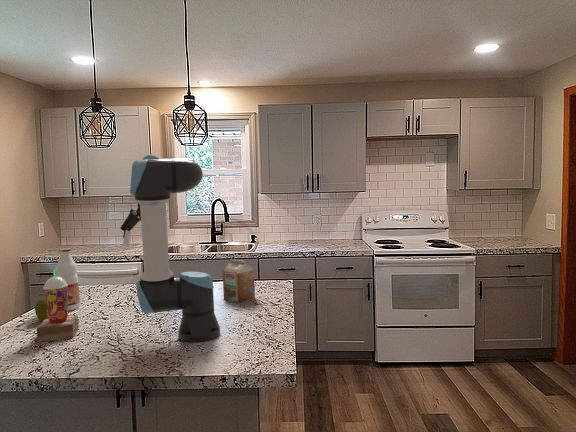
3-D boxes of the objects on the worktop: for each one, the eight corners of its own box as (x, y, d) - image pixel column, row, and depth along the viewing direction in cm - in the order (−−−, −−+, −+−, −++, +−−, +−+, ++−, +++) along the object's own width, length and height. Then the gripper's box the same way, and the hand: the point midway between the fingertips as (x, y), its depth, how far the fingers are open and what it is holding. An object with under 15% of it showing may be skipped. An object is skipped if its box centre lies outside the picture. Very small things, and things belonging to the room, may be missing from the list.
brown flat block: (73, 337, 167) (72, 324, 166) (37, 342, 163) (36, 328, 163) (78, 327, 178) (77, 315, 178) (45, 331, 175) (44, 318, 174)
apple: (43, 325, 183) (41, 299, 182) (30, 322, 188) (28, 296, 187) (66, 318, 191) (64, 293, 190) (54, 315, 196) (52, 291, 195)
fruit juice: (84, 306, 209) (80, 247, 207) (66, 312, 201) (61, 250, 199) (71, 304, 214) (67, 246, 211) (53, 310, 205) (48, 249, 203)
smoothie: (52, 318, 174) (48, 267, 173) (74, 317, 175) (70, 266, 173) (41, 325, 166) (37, 272, 164) (64, 324, 166) (60, 271, 165)
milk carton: (255, 298, 214) (253, 259, 212) (238, 303, 206) (236, 262, 205) (240, 295, 221) (239, 257, 219) (223, 299, 213) (222, 260, 212)
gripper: (178, 199, 193) (171, 245, 185) (127, 205, 200) (119, 249, 191) (169, 191, 187) (162, 238, 178) (117, 197, 193) (108, 243, 184)
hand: (140, 244), depth 184 cm, fingers open, 13 cm apart
